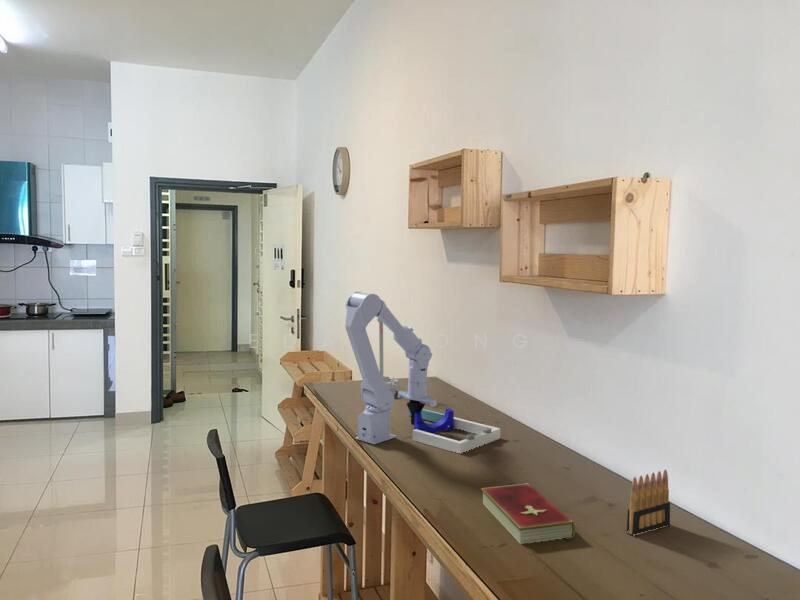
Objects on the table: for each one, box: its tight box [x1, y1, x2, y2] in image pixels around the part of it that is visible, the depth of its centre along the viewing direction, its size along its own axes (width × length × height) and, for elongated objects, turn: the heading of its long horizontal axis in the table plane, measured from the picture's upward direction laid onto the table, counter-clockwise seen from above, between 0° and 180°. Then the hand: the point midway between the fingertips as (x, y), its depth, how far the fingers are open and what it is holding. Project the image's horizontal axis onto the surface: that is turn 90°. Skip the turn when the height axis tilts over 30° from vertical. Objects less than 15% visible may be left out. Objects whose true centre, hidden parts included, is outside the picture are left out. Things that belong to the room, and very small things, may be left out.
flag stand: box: [376, 317, 399, 396], centre depth 248 cm, size 13×13×30 cm
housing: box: [412, 416, 501, 455], centre depth 194 cm, size 19×18×4 cm
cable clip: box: [413, 407, 455, 434], centre depth 202 cm, size 12×4×6 cm, turn 106°
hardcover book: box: [480, 482, 576, 545], centre depth 140 cm, size 12×21×4 cm, turn 14°
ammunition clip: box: [626, 469, 671, 534], centre depth 135 cm, size 11×2×12 cm, turn 118°
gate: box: [407, 407, 445, 423], centre depth 213 cm, size 17×1×3 cm, turn 46°
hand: (415, 424), depth 204 cm, fingers closed, pressing on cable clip
